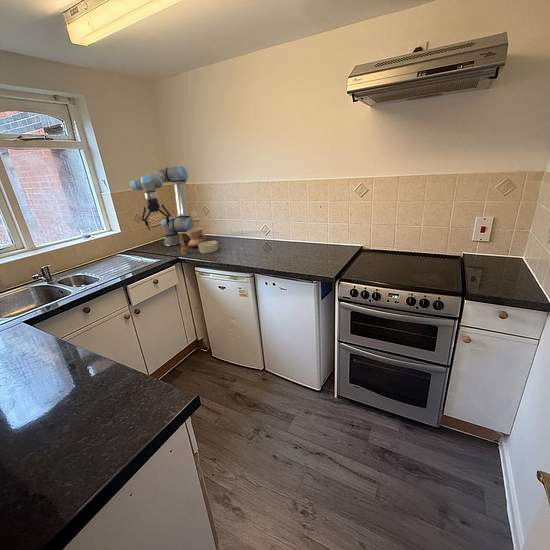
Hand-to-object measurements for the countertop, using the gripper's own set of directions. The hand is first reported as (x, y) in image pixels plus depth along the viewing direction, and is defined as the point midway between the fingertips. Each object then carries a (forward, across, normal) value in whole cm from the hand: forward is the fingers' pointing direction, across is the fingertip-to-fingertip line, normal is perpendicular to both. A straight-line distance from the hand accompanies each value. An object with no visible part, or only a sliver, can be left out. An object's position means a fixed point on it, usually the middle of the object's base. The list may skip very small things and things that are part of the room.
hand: (158, 228), depth 218 cm
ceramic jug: (+23, +28, +12) cm, 38 cm away
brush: (+23, +14, 0) cm, 27 cm away
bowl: (+23, +31, -8) cm, 40 cm away
